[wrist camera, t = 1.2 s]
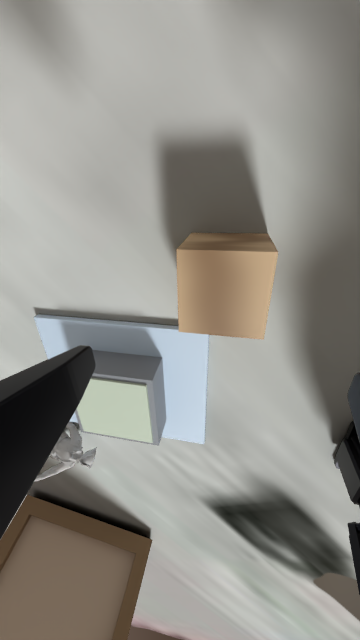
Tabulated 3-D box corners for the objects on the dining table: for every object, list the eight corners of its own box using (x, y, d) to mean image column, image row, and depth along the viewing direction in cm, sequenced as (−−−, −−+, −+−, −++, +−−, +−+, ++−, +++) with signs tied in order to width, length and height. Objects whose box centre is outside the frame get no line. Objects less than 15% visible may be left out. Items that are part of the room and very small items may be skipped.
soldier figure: (16, 395, 32) (78, 427, 26) (49, 397, 36) (109, 425, 30) (-10, 459, 30) (50, 509, 25) (28, 454, 35) (87, 495, 29)
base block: (162, 357, 22) (151, 382, 19) (166, 419, 26) (158, 447, 23) (80, 348, 24) (59, 370, 21) (95, 408, 27) (80, 433, 25)
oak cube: (267, 233, 16) (278, 252, 12) (257, 303, 19) (263, 339, 14) (191, 232, 17) (176, 249, 13) (191, 298, 20) (178, 331, 15)
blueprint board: (209, 328, 20) (208, 332, 20) (204, 439, 27) (204, 444, 27) (38, 314, 23) (33, 317, 23) (72, 417, 30) (69, 421, 30)
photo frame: (31, 488, 42) (-180, 806, 21) (154, 532, 41) (62, 917, 20) (38, 522, 50) (-111, 780, 29) (141, 560, 49) (65, 858, 27)
